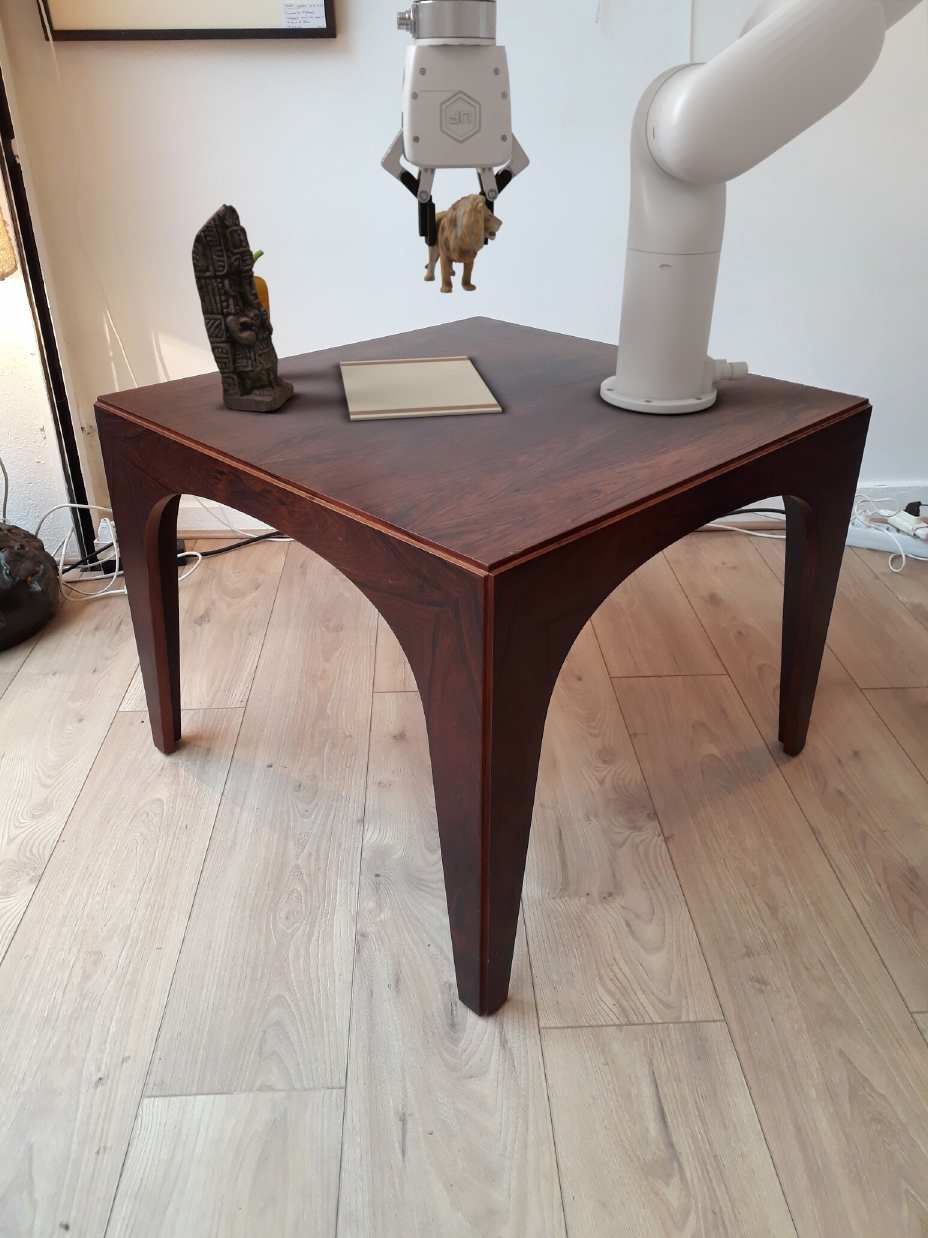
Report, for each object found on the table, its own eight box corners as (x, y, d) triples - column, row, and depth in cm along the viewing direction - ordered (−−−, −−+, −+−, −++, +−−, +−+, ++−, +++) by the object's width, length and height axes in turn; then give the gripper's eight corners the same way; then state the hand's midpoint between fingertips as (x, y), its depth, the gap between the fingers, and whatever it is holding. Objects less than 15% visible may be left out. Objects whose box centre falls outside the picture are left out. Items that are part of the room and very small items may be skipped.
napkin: (466, 358, 115) (466, 355, 115) (501, 412, 97) (502, 409, 96) (340, 364, 113) (339, 361, 113) (351, 420, 94) (350, 417, 94)
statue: (273, 414, 96) (250, 207, 86) (211, 410, 97) (180, 206, 87) (296, 395, 102) (277, 199, 92) (237, 391, 103) (211, 198, 93)
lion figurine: (504, 296, 88) (508, 195, 84) (454, 300, 87) (455, 196, 82) (447, 272, 100) (448, 182, 96) (401, 274, 98) (400, 182, 94)
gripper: (364, 24, 78) (375, 252, 87) (556, 26, 80) (547, 247, 89) (357, 28, 84) (368, 240, 93) (535, 29, 86) (529, 235, 96)
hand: (456, 241), depth 91 cm, fingers closed on lion figurine, 4 cm apart
